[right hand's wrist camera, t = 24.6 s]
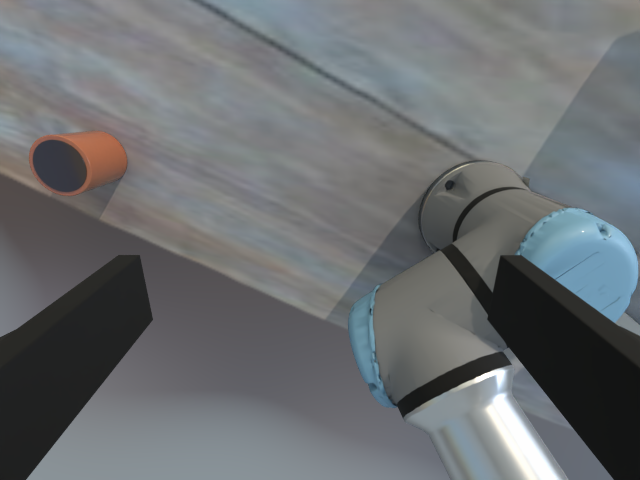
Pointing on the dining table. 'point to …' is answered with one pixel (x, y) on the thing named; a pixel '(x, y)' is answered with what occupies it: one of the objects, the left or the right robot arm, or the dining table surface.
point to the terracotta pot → (77, 161)
